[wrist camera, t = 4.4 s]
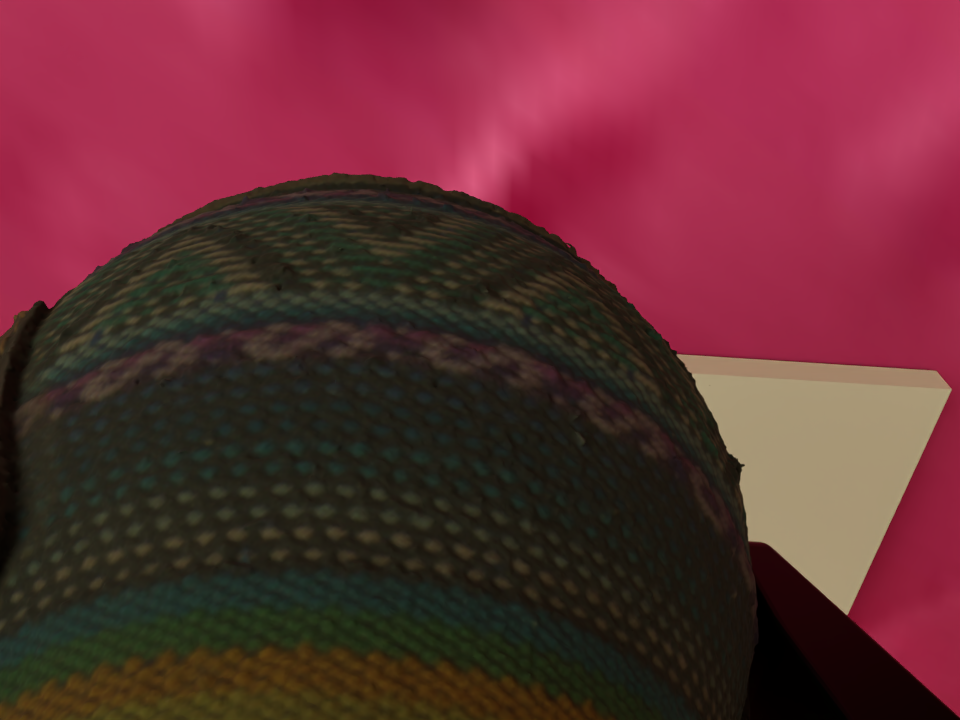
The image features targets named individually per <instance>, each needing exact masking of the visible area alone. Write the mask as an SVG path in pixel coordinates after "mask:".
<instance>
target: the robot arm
mask: <svg viewBox="0 0 960 720" xmlns="http://www.w3.org/2000/svg"><path fill="white" fill-rule="evenodd" d="M748 543H749V545H750V556H751V562H752V571H753V574H754V577H755V583H756V596H757V602H758V606H757V610H756V616H757V618H758V635H759V637H758V642H759V643H758V644H757V645H756V646H755V647H754V652H755V653H754V655H753V660H752V662H751V666H750V670H749V678H748V680H749V702H750V720H960V718H959V717H958V716H957V715H956V714H955V713H954V712H953V711H952V710H951V709H950V708H948V707H947V706H946V705H945V704H944V703H943V702H942V701H941V700H940V699H938V698H937V697H936V696H935V695H934V694H933V693H932V692H931V691H930V690H929V689H927V688H926V687H925V686H924V685H923V684H922V683H921V682H920V681H919V680H918V679H916V678H915V677H914V676H913V675H912V674H911V673H910V672H909V671H908V670H907V669H905V668H904V667H903V666H902V665H901V664H900V663H899V662H898V661H897V660H896V659H894V658H893V657H892V656H891V655H890V654H889V653H888V652H887V651H886V650H885V649H883V648H882V647H881V646H880V645H879V644H878V643H877V642H876V641H875V640H874V639H872V638H871V637H870V636H869V635H868V634H867V633H866V632H865V631H864V630H863V629H861V628H860V627H859V626H858V625H857V624H856V623H855V622H854V621H853V620H852V619H850V618H849V617H848V616H847V615H846V614H845V613H844V612H843V611H842V610H840V609H839V608H838V607H837V606H836V605H835V604H834V603H833V602H832V601H831V600H829V599H828V598H827V597H826V596H825V595H824V594H823V593H822V592H821V591H820V590H818V589H817V588H816V587H815V586H814V585H813V584H812V583H811V582H810V581H809V580H807V579H806V578H805V577H804V576H803V575H802V574H801V573H800V572H799V571H798V570H796V569H795V568H794V567H793V566H792V565H791V564H790V563H789V562H788V561H787V560H785V559H784V558H783V557H782V556H781V555H780V554H779V553H778V552H777V551H776V550H774V549H773V548H772V547H771V546H769V545H768V544H766V543H763V542H755V541H748Z"/></svg>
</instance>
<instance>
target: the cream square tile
mask: <svg viewBox="0 0 960 720" xmlns="http://www.w3.org/2000/svg"><path fill="white" fill-rule="evenodd" d="M677 357H678V358H679V359H680V360H681V361H683V363H685V367H687V370H688V371H689V372H690V373H692V377H693V378H694V379H695V380H696V387H697V389H698V391H699V392H700V394H701V395H702V396H703V398H704V400H705V402H706V404H707V406H708V408H709V410H710V411H711V412H712V415H713V417H714V419H715V421H716V422H717V424H718V429H719V433H720V435H721V438H722V439H723V441H724V444H725V445H726V447H727V448H726V450H727V452H728V453H729V454H732V455H733V457H736V459H737V458H738V462H739V463H740V464H744V465H745V466H743V467H742V472H741V476H740V484H739V485H740V490H741V493H742V495H743V503H744V508H745V512H746V525H747V527H748V541H755V542H763V543H766V544H768V545H769V546H771V547H772V548H773V549H774V550H776V551H777V552H778V553H779V554H780V555H781V556H782V557H783V558H784V559H785V560H787V561H788V562H789V563H790V564H791V565H792V566H793V567H794V568H795V569H796V570H798V571H799V572H800V573H801V574H802V575H803V576H804V577H805V578H806V579H807V580H809V581H810V582H811V583H812V584H813V585H814V586H815V587H816V588H817V589H818V590H820V591H821V592H822V593H823V594H824V595H825V596H826V597H827V598H828V599H829V600H831V601H832V602H833V603H834V604H835V605H836V606H837V607H838V608H839V609H840V610H842V611H843V612H844V613H845V614H846V615H848V613H849V611H850V609H851V606H852V604H853V602H854V600H855V598H856V596H857V593H858V591H859V589H860V587H861V585H862V583H863V580H864V578H865V576H866V574H867V572H868V570H869V567H870V565H871V563H872V561H873V559H874V557H875V554H876V552H877V550H878V548H879V546H880V544H881V541H882V539H883V537H884V535H885V533H886V531H887V529H888V526H889V524H890V522H891V520H892V518H893V516H894V513H895V511H896V509H897V507H898V505H899V503H900V500H901V498H902V496H903V494H904V492H905V490H906V487H907V485H908V483H909V481H910V479H911V477H912V474H913V472H914V470H915V468H916V466H917V464H918V462H919V459H920V457H921V455H922V453H923V451H924V449H925V446H926V444H927V442H928V440H929V438H930V436H931V433H932V431H933V429H934V427H935V425H936V423H937V420H938V418H939V416H940V414H941V412H942V410H943V407H944V405H945V403H946V401H947V399H948V397H949V394H950V392H951V390H952V389H951V388H950V387H949V385H948V384H947V383H946V382H945V381H944V379H943V378H942V377H941V376H940V375H939V373H938V372H937V371H932V370H916V369H901V368H885V367H869V366H854V365H838V364H822V363H807V362H791V361H775V360H760V359H744V358H728V357H712V356H697V355H681V354H677Z"/></svg>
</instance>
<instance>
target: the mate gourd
mask: <svg viewBox="0 0 960 720" xmlns="http://www.w3.org/2000/svg"><path fill="white" fill-rule="evenodd" d="M566 244H568V245H570V246H571V247H570V248H569V247H568V246H567V245H566ZM726 448H727V447H726V445H725V444H724V441H723V439H722V438H721V435H720V433H719V429H718V424H717V422H716V421H715V419H714V417H713V415H712V412H711V411H710V410H709V408H708V406H707V404H706V402H705V400H704V398H703V396H702V395H701V394H700V392H699V391H698V389H697V387H696V380H695V379H694V378H693V377H692V373H690V372H689V371H688V370H687V367H685V363H683V361H681V360H680V359H679V358H678V357H677V351H675V350H672V349H671V348H670V346H669V342H667V341H666V340H665V339H663V338H662V336H661V334H659V333H657V331H656V330H655V329H654V327H653V326H652V325H651V324H650V323H649V322H647V321H646V320H645V319H644V318H643V317H642V316H641V315H640V313H639V312H638V311H637V310H636V309H635V307H634V305H633V304H630V303H628V302H627V299H626V298H625V297H622V296H621V295H620V293H618V291H617V288H616V285H615V284H612V283H611V282H610V281H607V280H605V278H604V277H603V276H602V275H600V274H599V270H597V269H595V268H594V267H592V266H591V263H590V262H589V261H587V260H585V259H583V258H580V257H577V253H576V250H575V248H574V247H573V246H572V245H571V244H569V243H564V242H563V241H562V239H561V238H560V237H559V236H557V235H555V234H549V233H548V231H546V230H545V228H543V227H538V226H536V225H534V224H532V223H531V222H530V221H529V220H528V219H527V218H525V217H522V216H521V215H518V214H515V213H510V212H508V211H506V210H504V209H503V208H501V207H499V206H497V205H494V204H492V203H489V202H485V201H482V200H480V199H477V198H476V197H473V196H469V195H468V194H466V193H464V192H458V191H455V190H453V191H444V190H442V189H441V188H440V187H438V186H436V185H433V184H430V183H425V182H422V181H417V182H410V181H408V180H407V179H406V178H401V177H398V178H392V177H387V178H385V177H381V176H375V175H371V174H369V175H348V174H339V173H333V174H331V175H329V176H328V175H322V176H318V177H312V178H306V179H300V180H298V181H287V182H285V183H279V184H276V185H274V186H268V187H266V188H263V187H258V188H255V189H254V190H252V191H249V192H245V193H242V194H237V195H235V196H230V197H226V198H222V199H219V200H214V201H213V202H211V203H208V204H207V205H205V206H204V207H202V208H199V209H197V210H196V211H194V212H192V213H189V214H187V215H185V216H183V217H182V218H180V219H177V220H175V221H174V222H173V223H172V224H169V225H167V226H166V227H164V228H161V229H159V230H158V232H157V233H154V234H153V235H152V236H151V237H149V238H147V239H143V240H142V241H139V242H135V243H132V244H129V245H128V246H127V247H126V248H124V249H123V250H122V252H121V254H120V255H118V256H117V257H115V258H111V260H110V261H109V262H108V263H107V264H105V265H104V266H97V267H96V269H95V270H94V272H93V273H92V274H89V275H88V276H87V277H86V279H85V280H84V281H83V282H82V283H80V284H79V285H78V286H77V287H76V288H74V289H72V290H70V291H68V292H67V293H66V294H65V295H64V296H63V297H62V298H61V299H59V300H58V301H57V303H56V304H55V306H54V307H52V308H50V309H48V308H47V306H46V304H45V303H44V301H38V302H36V303H34V305H33V307H32V308H31V309H30V310H29V311H21V312H20V313H18V315H15V316H14V324H13V325H12V327H11V328H10V329H9V330H8V331H7V332H6V333H4V334H3V335H2V336H1V337H0V720H750V702H749V680H748V678H749V670H750V666H751V662H752V660H753V655H754V653H755V652H754V647H755V646H756V645H757V644H758V643H759V642H758V637H759V635H758V618H757V616H756V610H757V606H758V602H757V596H756V583H755V577H754V574H753V571H752V562H751V556H750V545H749V543H748V527H747V525H746V512H745V508H744V503H743V495H742V493H741V490H740V485H739V484H740V476H741V472H742V467H743V466H745V465H744V464H740V463H739V462H738V458H737V459H736V457H733V455H732V454H729V453H728V452H727V450H726Z"/></svg>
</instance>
